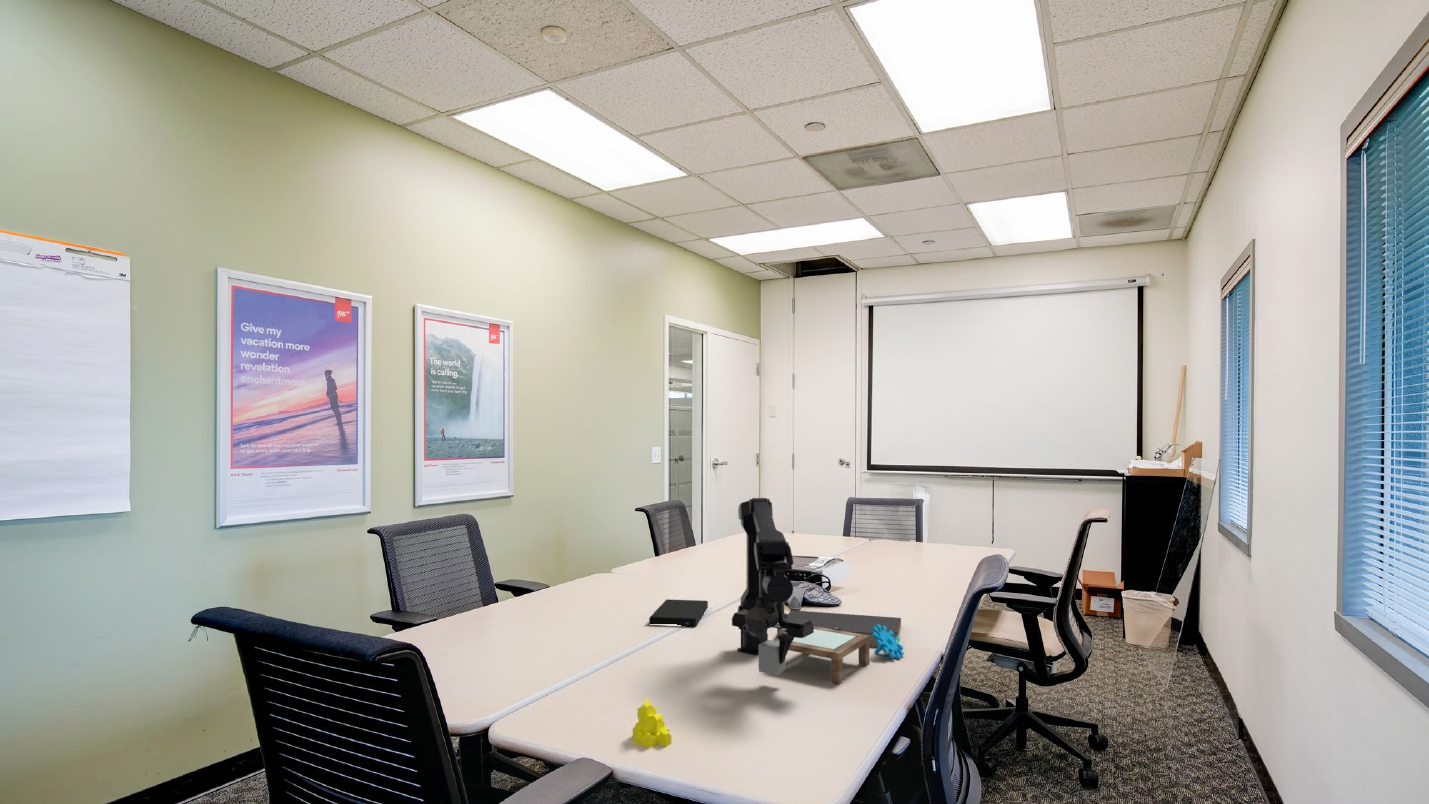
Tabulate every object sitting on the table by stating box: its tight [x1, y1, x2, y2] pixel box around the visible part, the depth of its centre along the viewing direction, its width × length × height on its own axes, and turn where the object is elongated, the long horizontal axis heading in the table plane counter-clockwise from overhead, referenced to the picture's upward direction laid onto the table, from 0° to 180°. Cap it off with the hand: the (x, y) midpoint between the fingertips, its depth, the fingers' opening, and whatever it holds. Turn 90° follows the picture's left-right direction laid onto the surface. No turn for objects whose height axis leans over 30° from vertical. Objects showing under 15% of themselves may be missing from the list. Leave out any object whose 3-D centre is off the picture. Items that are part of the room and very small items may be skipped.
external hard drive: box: [648, 599, 709, 628], centre depth 223 cm, size 14×23×3 cm, turn 171°
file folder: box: [776, 609, 902, 647], centre depth 204 cm, size 33×4×24 cm
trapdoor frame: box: [772, 626, 870, 685], centre depth 174 cm, size 18×18×7 cm
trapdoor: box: [792, 629, 856, 650], centre depth 174 cm, size 13×13×1 cm
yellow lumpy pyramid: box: [632, 697, 672, 749], centre depth 133 cm, size 6×8×8 cm
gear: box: [872, 624, 905, 660], centre depth 184 cm, size 11×6×10 cm
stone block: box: [758, 639, 787, 676], centre depth 160 cm, size 4×4×6 cm
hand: (772, 661), depth 160 cm, fingers closed on stone block, 4 cm apart
